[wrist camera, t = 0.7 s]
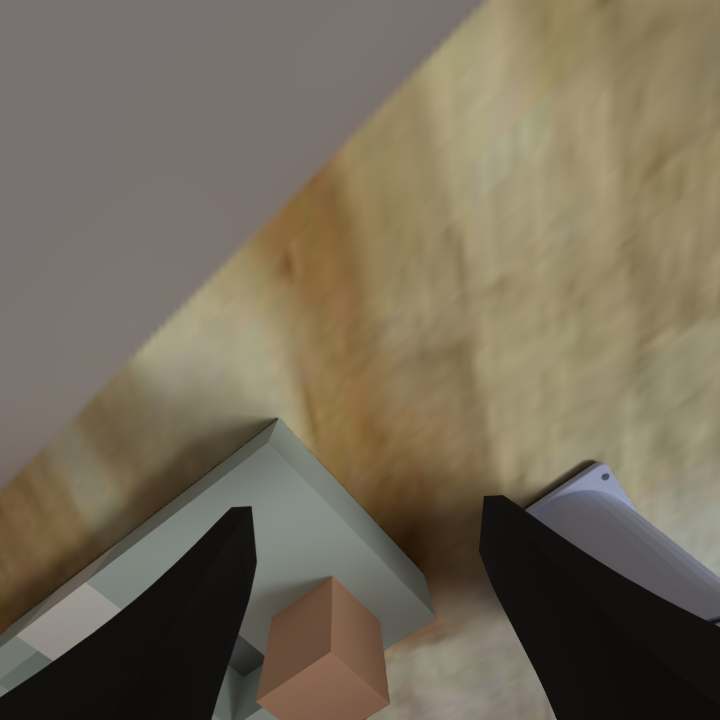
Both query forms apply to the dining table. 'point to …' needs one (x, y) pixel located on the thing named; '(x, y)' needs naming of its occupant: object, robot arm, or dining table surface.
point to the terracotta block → (324, 659)
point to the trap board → (272, 576)
